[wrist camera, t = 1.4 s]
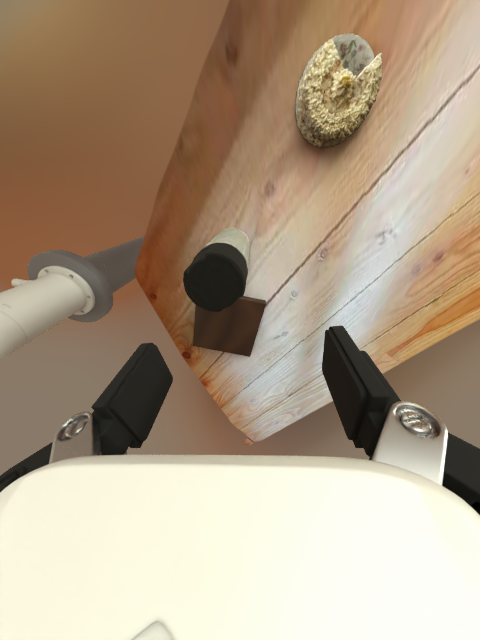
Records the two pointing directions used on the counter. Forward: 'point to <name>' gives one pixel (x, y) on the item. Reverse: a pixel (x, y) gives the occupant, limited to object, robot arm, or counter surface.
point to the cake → (337, 90)
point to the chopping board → (229, 326)
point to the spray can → (219, 271)
